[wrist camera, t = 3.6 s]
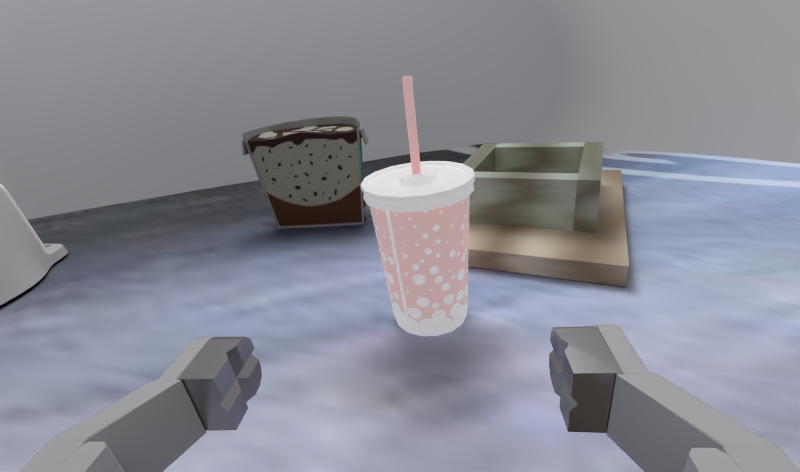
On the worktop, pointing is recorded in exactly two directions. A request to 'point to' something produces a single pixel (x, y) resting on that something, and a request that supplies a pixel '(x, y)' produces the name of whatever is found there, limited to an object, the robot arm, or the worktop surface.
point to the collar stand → (548, 212)
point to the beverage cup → (423, 235)
